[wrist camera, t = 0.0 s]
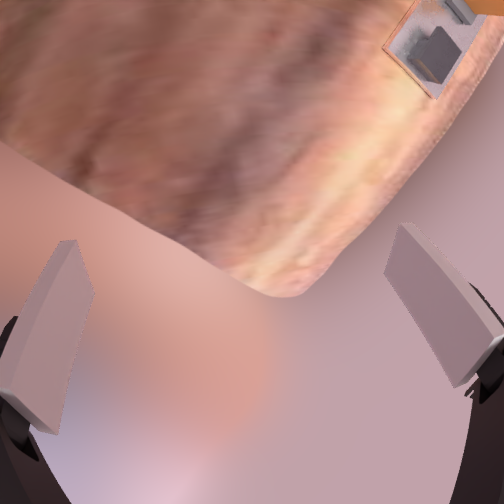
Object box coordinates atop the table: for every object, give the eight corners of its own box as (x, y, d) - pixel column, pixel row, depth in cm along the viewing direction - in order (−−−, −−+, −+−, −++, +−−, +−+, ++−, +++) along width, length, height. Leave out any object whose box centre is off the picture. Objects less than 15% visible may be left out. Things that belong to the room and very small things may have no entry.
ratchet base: (452, -51, 18) (470, -54, 14) (491, -4, 22) (509, -3, 19) (381, 48, 30) (400, 48, 26) (430, 97, 34) (449, 103, 31)
